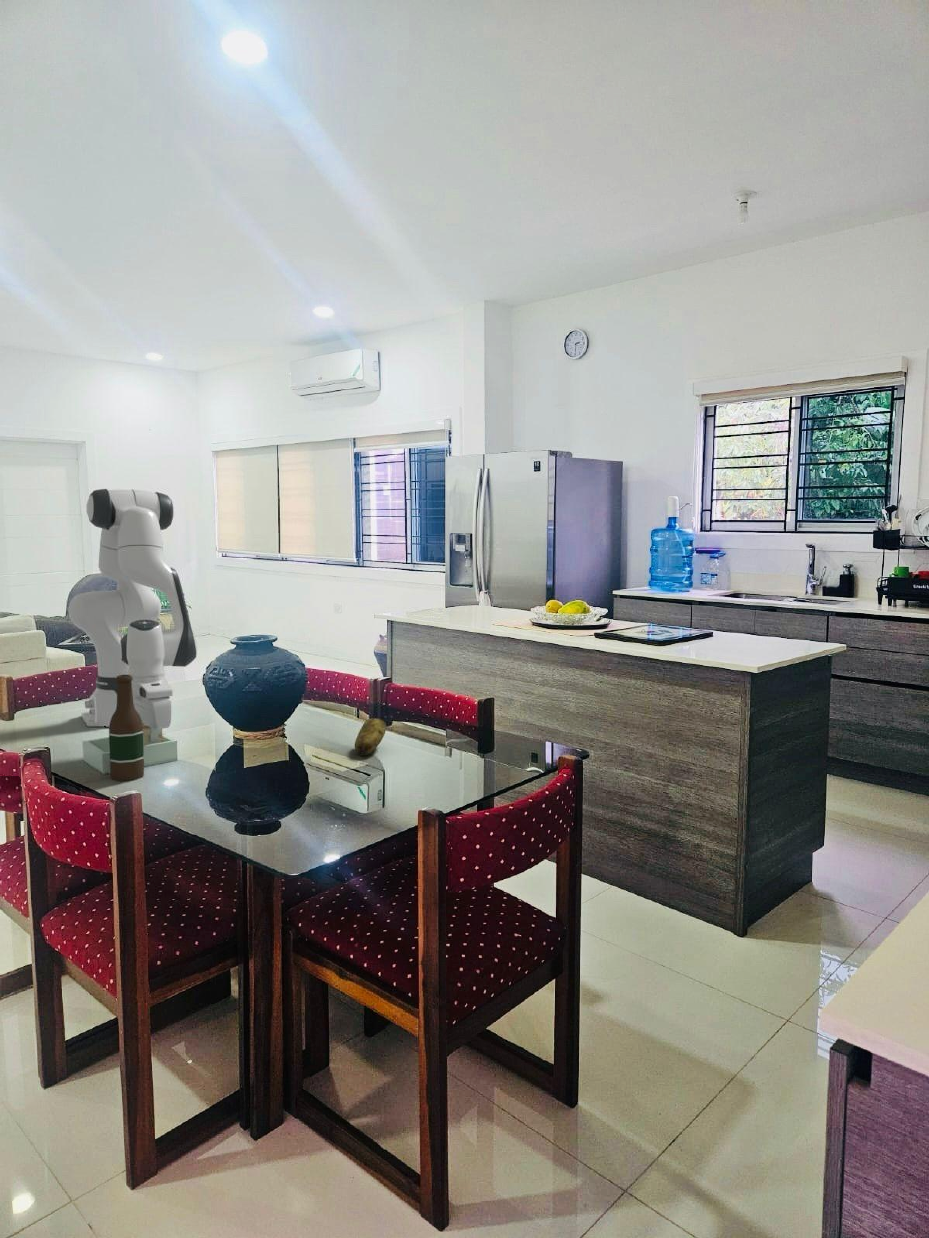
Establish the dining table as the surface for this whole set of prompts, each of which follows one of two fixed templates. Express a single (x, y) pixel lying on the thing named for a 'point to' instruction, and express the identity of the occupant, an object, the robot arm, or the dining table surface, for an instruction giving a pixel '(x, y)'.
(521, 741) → the dining table surface
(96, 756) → the tote
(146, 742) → the beech cube
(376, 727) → the potato
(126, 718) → the beer bottle
